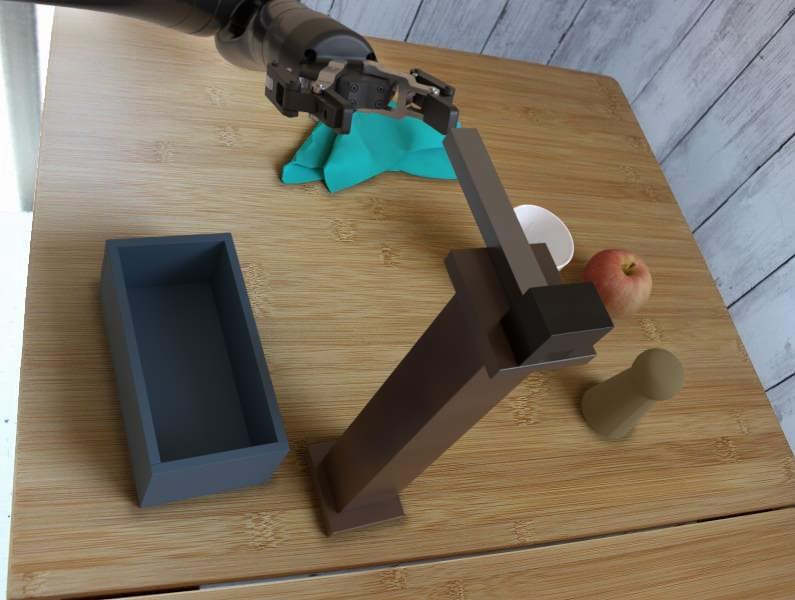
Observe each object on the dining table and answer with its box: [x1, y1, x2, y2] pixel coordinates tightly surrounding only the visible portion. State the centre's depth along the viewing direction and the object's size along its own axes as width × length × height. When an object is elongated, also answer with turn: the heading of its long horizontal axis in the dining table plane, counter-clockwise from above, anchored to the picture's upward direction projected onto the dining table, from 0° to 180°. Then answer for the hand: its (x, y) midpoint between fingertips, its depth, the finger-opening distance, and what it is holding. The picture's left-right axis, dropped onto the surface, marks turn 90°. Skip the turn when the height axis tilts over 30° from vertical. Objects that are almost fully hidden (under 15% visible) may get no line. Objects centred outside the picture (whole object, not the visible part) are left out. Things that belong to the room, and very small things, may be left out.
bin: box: [98, 232, 291, 509], centre depth 70 cm, size 21×11×8 cm, turn 19°
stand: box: [303, 243, 598, 539], centre depth 61 cm, size 8×7×32 cm
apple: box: [579, 248, 653, 320], centre depth 94 cm, size 8×8×8 cm
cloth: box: [281, 100, 462, 194], centre depth 96 cm, size 26×14×2 cm, turn 112°
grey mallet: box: [442, 127, 615, 366], centre depth 49 cm, size 16×4×4 cm, turn 19°
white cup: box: [484, 203, 575, 272], centre depth 88 cm, size 8×8×10 cm
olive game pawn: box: [580, 347, 686, 440], centre depth 84 cm, size 6×6×11 cm
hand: (401, 122), depth 60 cm, fingers open, 8 cm apart
